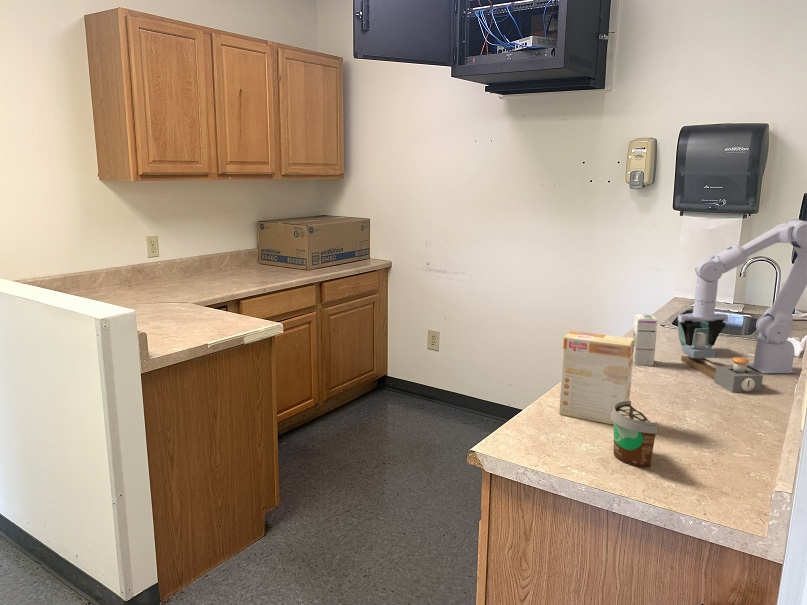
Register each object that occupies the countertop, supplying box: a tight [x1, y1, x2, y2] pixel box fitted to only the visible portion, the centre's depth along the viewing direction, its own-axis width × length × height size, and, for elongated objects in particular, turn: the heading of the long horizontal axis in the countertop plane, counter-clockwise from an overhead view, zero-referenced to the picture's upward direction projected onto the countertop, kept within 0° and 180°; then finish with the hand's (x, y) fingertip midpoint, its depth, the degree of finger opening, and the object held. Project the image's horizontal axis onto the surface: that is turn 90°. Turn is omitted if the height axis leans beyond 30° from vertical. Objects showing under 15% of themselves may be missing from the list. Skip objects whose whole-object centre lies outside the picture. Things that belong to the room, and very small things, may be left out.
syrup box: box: [632, 313, 658, 367], centre depth 182 cm, size 6×6×14 cm
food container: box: [611, 400, 659, 469], centre depth 122 cm, size 12×6×10 cm, turn 5°
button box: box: [714, 365, 764, 393], centre depth 163 cm, size 8×8×4 cm
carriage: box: [681, 333, 717, 359], centre depth 181 cm, size 7×6×7 cm
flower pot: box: [677, 321, 714, 348], centre depth 194 cm, size 9×9×9 cm
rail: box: [680, 355, 720, 381], centre depth 177 cm, size 6×18×2 cm, turn 5°
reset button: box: [732, 357, 750, 374], centre depth 162 cm, size 4×4×4 cm
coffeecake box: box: [558, 330, 635, 426], centre depth 142 cm, size 15×7×20 cm, turn 61°
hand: (699, 344), depth 181 cm, fingers open, 6 cm apart
